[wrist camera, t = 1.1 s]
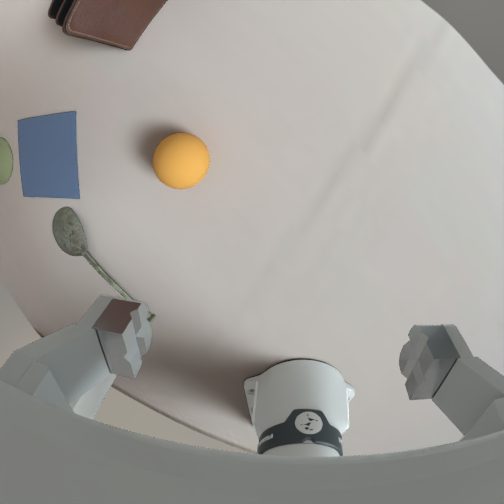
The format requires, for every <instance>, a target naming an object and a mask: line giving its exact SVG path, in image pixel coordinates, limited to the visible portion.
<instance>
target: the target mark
mask: <svg viewBox="0 0 504 504" xmlns="http://www.w3.org/2000/svg"><path fill="white" fill-rule="evenodd" d="M18 143H19V159H20V170H21V180H22V189H23V196H24V197H50V198H72V199H80V194H79V182H78V167H77V146H76V111H73V112H65V113H58V114H52V115H45V116H40V117H34V118H28V119H23V120H18Z"/></svg>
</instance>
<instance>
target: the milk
mask: <svg viewBox="0 0 504 504" xmlns="http://www.w3.org/2000/svg"><path fill="white" fill-rule="evenodd" d="M116 376H117V375H116V374H111V373H110V375H109V376H108V377H107V378H105V379H104V380H102V381H101V382H100V383H98V384H97V385H96V386H94V387H93V388H92V389H90V390H89V391H87V392H86V393H85V394H83V395H82V396H81V397H79V398H78V399H76V400H75V401H74V402H72V403H71V404H69V405H70V407H71V408H72V410H73V411H74V413H75V414H78V415H81V416H84V417H86V418H89V419H92V420H93V419H94V417H95V415H96V413H97V411H98V409H99V407H100V405H101V404H102V402H103V400H104V398H105V396H106V394H107V392H108V390H109V389H110V387H111V385H112V383H113V381H114V380H115V378H116Z"/></svg>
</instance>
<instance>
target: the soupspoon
mask: <svg viewBox="0 0 504 504" xmlns="http://www.w3.org/2000/svg"><path fill="white" fill-rule="evenodd" d="M53 233H54V237H55V240H56V242H57V244H58V245H59V247H60V248H61V249H62V250H63V251H64V252H65V253H67V254H69V255H72V256H82V255H83V256H84V257H85V258H86V259H87V261H88V262H89V263H90V264H91V265H92V266H93V267H94V269H96V271H97V272H98V273H99V274H100V275H101V276H102V277H103V278H104V279H105V280H106V281H107V282H108V283H109V284H110V285H112V286H113V287H114V288H115V289H116V290H117V291H118V292H119V293H120V294H121V295H122V296H123V297H124V298H126V299H131V300H133V299H132V298H130V297H129V296H128V295H127V294H126V293H125V292H124V291H123V290H122V289H121V288H120V287H119V286H118V285H117V284H116V283H115V282H114V281H113V280H112V279H111V278H110V277H109V276H108V275H107V274H106V273H105V272H104V271H103V270H102V269H101V267H100V266H99V265H98V264H97V263H96V262H95V260H94V259H93V258H92V257H91V256H90V254H89V253H88V252H87V242H86V238H85V235H84V231H83V229H82V226H81V224H80V222H79V220H78V218H77V217H76V215H75V213H74V212H73V210H72V209H71V208H69V207H63V208H61V209H60V210H59V211H58V212H57V213H56V215H55V217H54V220H53ZM154 318H155V315H151V313H150V312H149V314H148V316H147V318H146V319H148V322H149V323H150V322H152V321H153V320H154Z"/></svg>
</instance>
